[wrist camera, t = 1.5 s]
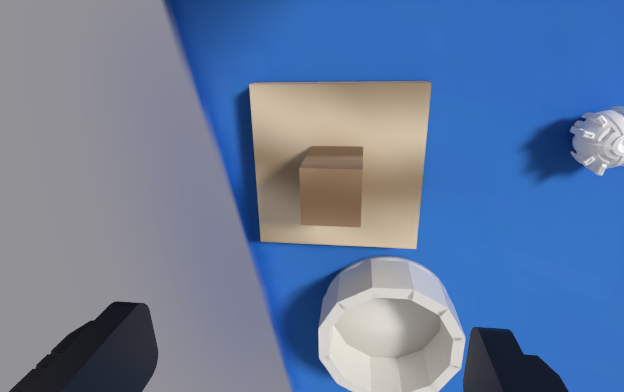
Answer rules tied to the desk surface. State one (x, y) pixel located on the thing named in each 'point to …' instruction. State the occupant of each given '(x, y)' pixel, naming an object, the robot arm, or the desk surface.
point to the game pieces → (600, 140)
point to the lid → (340, 161)
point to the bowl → (389, 328)
